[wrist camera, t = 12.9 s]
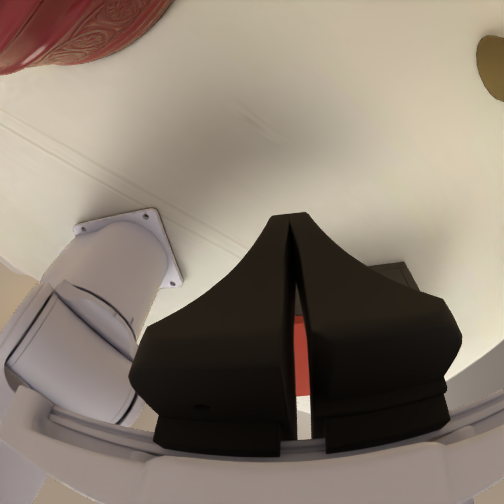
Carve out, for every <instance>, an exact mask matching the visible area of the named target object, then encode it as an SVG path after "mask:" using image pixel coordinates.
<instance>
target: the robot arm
mask: <svg viewBox="0 0 504 504" xmlns="http://www.w3.org/2000/svg"><path fill="white" fill-rule="evenodd" d="M145 214H147V215H148V216H149V217H146V216H145ZM84 227H85V229H84ZM73 232H74V234H75V236H76V237H75V238H74V239H73V240H72V241H71V242H70V244H69V245H68V246H67V247H66V248H65V249H64V250H63V251H62V252H61V254H60V255H59V256H58V257H57V258H56V259H55V261H54V262H53V263H52V264H51V265H50V266H49V268H48V269H47V270H46V271H45V273H44V274H43V276H42V279H41V282H40V283H37V284H35V286H34V287H33V288H32V289H31V291H30V292H29V293H28V294H27V296H26V297H25V298H24V300H23V301H22V302H21V304H20V305H19V306H18V308H17V309H16V310H15V312H14V313H13V315H12V316H11V318H10V319H9V321H8V322H7V323H6V325H5V326H4V328H3V329H2V331H1V333H0V504H32V503H33V501H34V499H35V498H36V496H37V494H38V493H39V491H40V489H41V487H42V486H43V484H44V482H45V480H46V479H47V477H48V475H49V476H51V477H53V478H54V479H56V480H58V481H59V482H61V483H62V484H64V485H65V486H67V487H69V488H70V489H72V490H74V491H76V492H77V493H79V494H81V495H83V496H85V497H87V498H89V499H91V500H93V501H95V502H97V503H99V504H474V501H473V497H475V496H477V495H479V494H481V493H482V492H484V491H486V490H487V489H489V488H491V487H492V486H494V485H496V484H497V483H499V482H500V481H502V480H503V479H504V388H503V389H502V390H499V391H497V392H495V393H493V394H490V395H488V396H486V397H484V398H481V399H479V400H477V401H474V402H471V403H469V404H467V405H464V406H461V407H458V408H455V409H453V410H450V411H448V407H447V404H446V400H445V397H444V393H446V391H447V385H446V382H445V379H444V375H445V374H446V372H447V371H448V369H449V367H450V366H451V364H452V363H453V361H454V359H455V358H456V356H457V354H458V352H459V349H460V347H461V345H462V334H461V332H460V330H459V328H458V325H457V323H456V321H455V319H454V317H453V315H452V313H451V311H450V310H449V308H448V306H447V305H446V303H445V302H444V300H443V299H441V298H438V297H435V296H433V295H430V294H427V293H424V292H421V291H418V290H415V289H412V288H410V287H407V286H405V285H403V284H401V283H398V282H396V281H394V280H392V279H390V278H388V277H385V276H383V275H382V274H380V273H378V272H376V271H374V270H373V269H371V268H369V267H367V266H366V265H364V264H362V263H361V262H359V261H358V260H357V259H355V258H354V257H352V256H351V255H349V254H348V253H347V252H345V251H344V250H343V249H342V248H340V247H339V246H338V245H337V244H336V243H335V242H334V241H333V240H331V239H330V238H329V237H328V236H327V235H326V234H325V233H324V232H323V231H322V230H321V229H320V227H319V226H318V225H317V224H316V223H315V222H314V221H313V219H312V218H311V217H310V216H309V214H307V213H306V212H301V213H292V214H282V215H274V216H271V218H270V219H269V221H268V222H267V224H266V226H265V228H264V229H263V231H262V233H261V234H260V236H259V237H258V239H257V240H256V242H255V243H254V245H253V246H252V247H251V249H250V250H249V251H248V253H247V254H246V255H245V256H244V258H243V259H242V260H241V261H240V262H239V263H238V265H237V266H236V267H235V268H234V269H233V270H232V271H231V272H230V273H229V274H228V275H226V276H225V277H224V278H223V279H222V280H221V281H219V282H218V283H217V284H216V285H214V286H213V287H212V288H211V289H210V290H208V291H207V292H206V293H204V294H203V295H202V296H200V297H199V298H197V299H196V300H194V301H193V302H191V303H190V304H188V305H187V306H185V307H183V308H182V309H180V310H178V311H177V312H175V313H173V314H171V315H169V316H167V317H165V318H164V319H162V320H160V321H158V322H156V323H154V324H152V325H150V326H148V327H147V328H146V330H145V333H144V335H143V337H142V339H141V341H140V344H139V346H138V345H137V343H136V342H137V340H138V337H139V335H140V332H141V330H142V327H143V325H144V323H145V320H146V318H147V315H148V313H149V311H150V308H151V306H152V304H153V301H154V299H155V297H156V295H157V292H158V290H159V288H173V287H181V286H182V285H183V282H184V281H183V278H182V276H181V273H180V271H179V268H178V266H177V263H176V261H175V258H174V255H173V253H172V250H171V247H170V245H169V242H168V239H167V237H166V234H165V231H164V228H163V225H162V223H161V220H160V217H159V214H158V212H157V210H156V209H154V208H149V209H144V210H139V211H134V212H129V213H124V214H120V215H115V216H110V217H106V218H101V219H97V220H93V221H88V222H84V223H80V224H76V225H75V226H74V227H73ZM173 282H174V283H173ZM296 285H297V290H298V295H299V300H300V305H301V310H302V315H303V321H304V326H305V332H306V339H307V352H308V367H309V385H310V406H311V438H312V439H308V440H297V405H296V377H295V353H294V322H295V299H296ZM145 402H146V403H147V404H148V405H149V406H150V407H151V408H152V409H153V410H154V411H155V412H156V413H157V414H158V415H159V417H158V420H157V424H156V428H155V432H149V431H144V430H139V429H134V428H129V427H130V426H131V425H132V424H133V423H134V422H135V421H136V419H137V418H138V417H139V415H140V413H141V411H142V409H143V407H144V405H145Z"/></svg>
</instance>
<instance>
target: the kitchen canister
mask: <svg viewBox="0 0 504 504" xmlns="http://www.w3.org/2000/svg"><path fill="white" fill-rule="evenodd" d="M171 1H172V0H0V75H7V74H12V73H15V72H17V71H20V70H22V69H24V68H28V67H34V66H42V65H50V64H55V65H76V64H84V63H88V62H92V61H95V60H98V59H100V58H103V57H106V56H109V55H111V54H113V53H116V52H117V51H120V50H121V49H123V48H125V47H126V46H128V45H130V44H131V43H133V42H134V41H135V40H137V39H138V38H139V37H140V36H142V35H143V34H144V33H145V32H146V31H147V30H148V29H149V28H151V27H152V26H153V25H154V23H155V22H156V21H157V20H158V19H159V18H160V17H161V16H162V14H163V13H164V12H165V10H166V9H167V7H168V6H169V4H170V3H171Z"/></svg>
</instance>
